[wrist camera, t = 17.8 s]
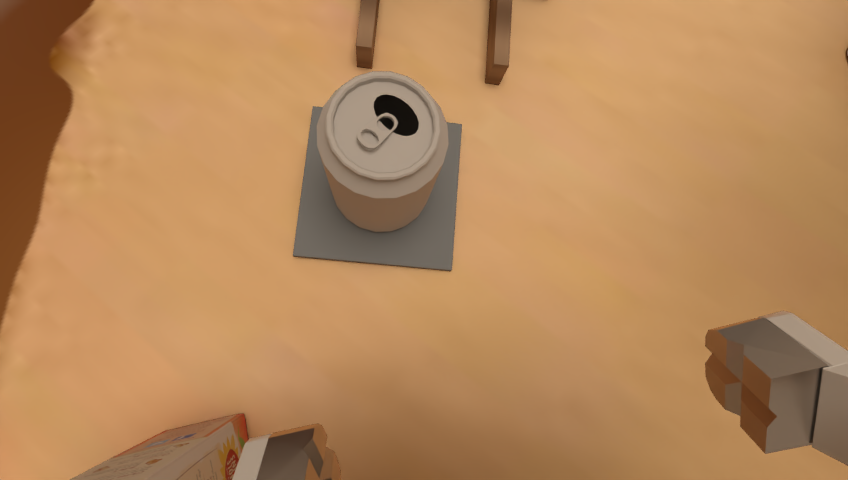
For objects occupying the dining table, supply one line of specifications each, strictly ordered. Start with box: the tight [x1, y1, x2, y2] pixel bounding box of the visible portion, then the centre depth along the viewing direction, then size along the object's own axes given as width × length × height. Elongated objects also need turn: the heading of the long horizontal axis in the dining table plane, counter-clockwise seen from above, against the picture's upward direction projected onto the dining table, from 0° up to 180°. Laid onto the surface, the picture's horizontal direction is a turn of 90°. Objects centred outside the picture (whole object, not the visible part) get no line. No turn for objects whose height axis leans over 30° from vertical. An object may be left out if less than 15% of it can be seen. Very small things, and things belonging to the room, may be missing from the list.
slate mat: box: [293, 106, 462, 271], centre depth 37 cm, size 12×12×1 cm
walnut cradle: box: [356, 0, 512, 85], centre depth 39 cm, size 10×20×3 cm, turn 85°
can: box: [317, 71, 449, 232], centre depth 31 cm, size 8×8×12 cm
